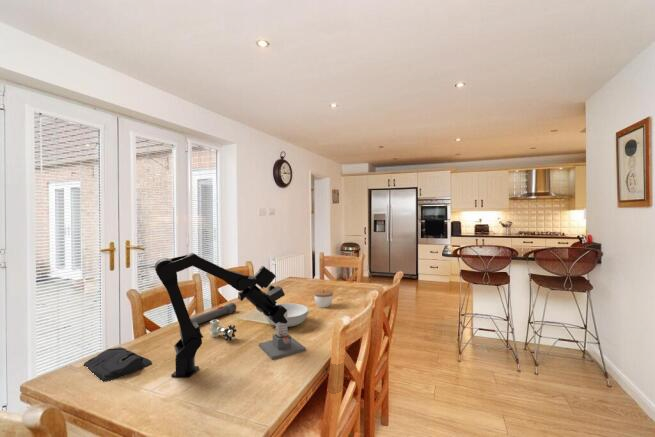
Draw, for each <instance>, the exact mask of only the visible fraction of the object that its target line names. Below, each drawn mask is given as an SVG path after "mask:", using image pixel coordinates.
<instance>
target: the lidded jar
mask: <svg viewBox="0 0 655 437" xmlns="http://www.w3.org/2000/svg"><path fill="white" fill-rule="evenodd" d="M313 293H314V294H313V295H314V296H313V297H314V303H315V304H316V306H317V307H319V308H320V309H321V308H325V309H326V308H329V306H330V305H331V304H332V302H333V296H334V292H333V291H331V290H326V289H322V290H316V291H314V292H313Z"/></svg>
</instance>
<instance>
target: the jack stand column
mask: <svg viewBox="0 0 655 437" xmlns="http://www.w3.org/2000/svg"><path fill="white" fill-rule="evenodd" d="M284 308H285V307H284ZM285 309H287V308H285ZM284 317H285V318H286V320H287V312H286V313H285V314H284ZM275 334H276V337H278V338H283V337H287V336H288V334H289V333H288V324H287V323H286V324H284V323H280V322H278V323H277V324H276V326H275Z"/></svg>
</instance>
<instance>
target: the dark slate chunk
mask: <svg viewBox="0 0 655 437" xmlns="http://www.w3.org/2000/svg"><path fill="white" fill-rule="evenodd" d="M152 363H153V362H152V360H150V359H149V358H147V357H144V356H142V355H138V354H137V353H135V352H133V351H131V350H129V349H128V350H127V349H126V348H125V347H121V346H118V347H113V348H107V349H106V350H104V351H102V352H101V353H98V354H97V355H96V356H94V357H92V358H90V359H88V360H87V361H85V362H84V363H83V364H84V365H85V366H86V367H88V369H89V370H90V371H91V372H92V373H94V375H93V376H95V375H96V376H97V377H98V378H97V377H96V376H95V377H96V378H97V379H99V380H100V381H101V380H102V381H103V382H104V381H105V382H107V381H108V380H109V381H108V382H112V381H114V380H116V379H119V377H120V378H122V377H125V375H126V376H129V375H132V374H134V373H136V372H139V371H141V370H143V369H144V368H147V366H150V365H151V364H152ZM84 365H83V366H84ZM86 367H85V368H86ZM88 369H87V370H88ZM89 370H88V371H89ZM90 371H89V372H90ZM91 372H90V373H91ZM92 373H91V374H92ZM121 376H122V377H121ZM111 380H112V381H111ZM102 381H101V382H102ZM103 382H102V383H103Z"/></svg>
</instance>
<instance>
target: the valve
mask: <svg viewBox="0 0 655 437" xmlns="http://www.w3.org/2000/svg"><path fill="white" fill-rule="evenodd" d="M209 323H210V324H209V331H210V332H209V334H210V335H209V336H210V337H211V338H218V337H219V336H220V334H222V337H224V340H225V341H230V342H231V341H232V339H233V338H235V337H236V334H235V333H237V329H236V328H235V327H236V325H235V324H234V325H233V324H228V326H227V327H225V328H224V327H223V325H220V320H219V319H211V320H210V321H209Z"/></svg>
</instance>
